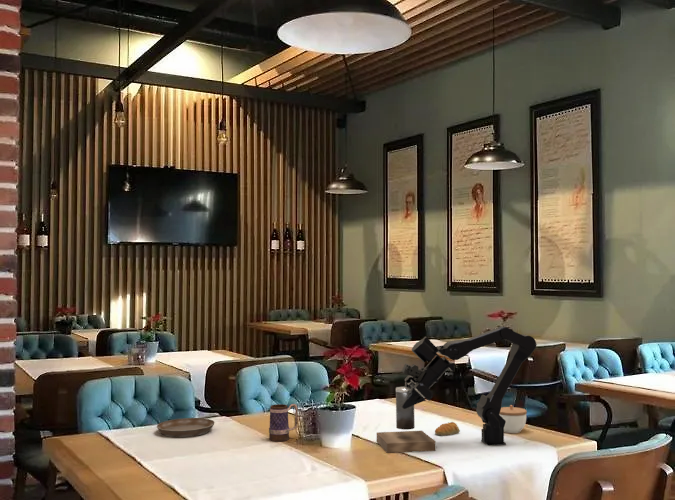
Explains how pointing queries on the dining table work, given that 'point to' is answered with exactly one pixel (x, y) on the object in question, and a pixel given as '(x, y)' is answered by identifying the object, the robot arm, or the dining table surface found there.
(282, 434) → the mug
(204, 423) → the plant saucer
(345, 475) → the dining table surface
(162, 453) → the dining table surface
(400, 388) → the canister
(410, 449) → the block
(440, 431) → the pastry
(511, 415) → the lidded jar
